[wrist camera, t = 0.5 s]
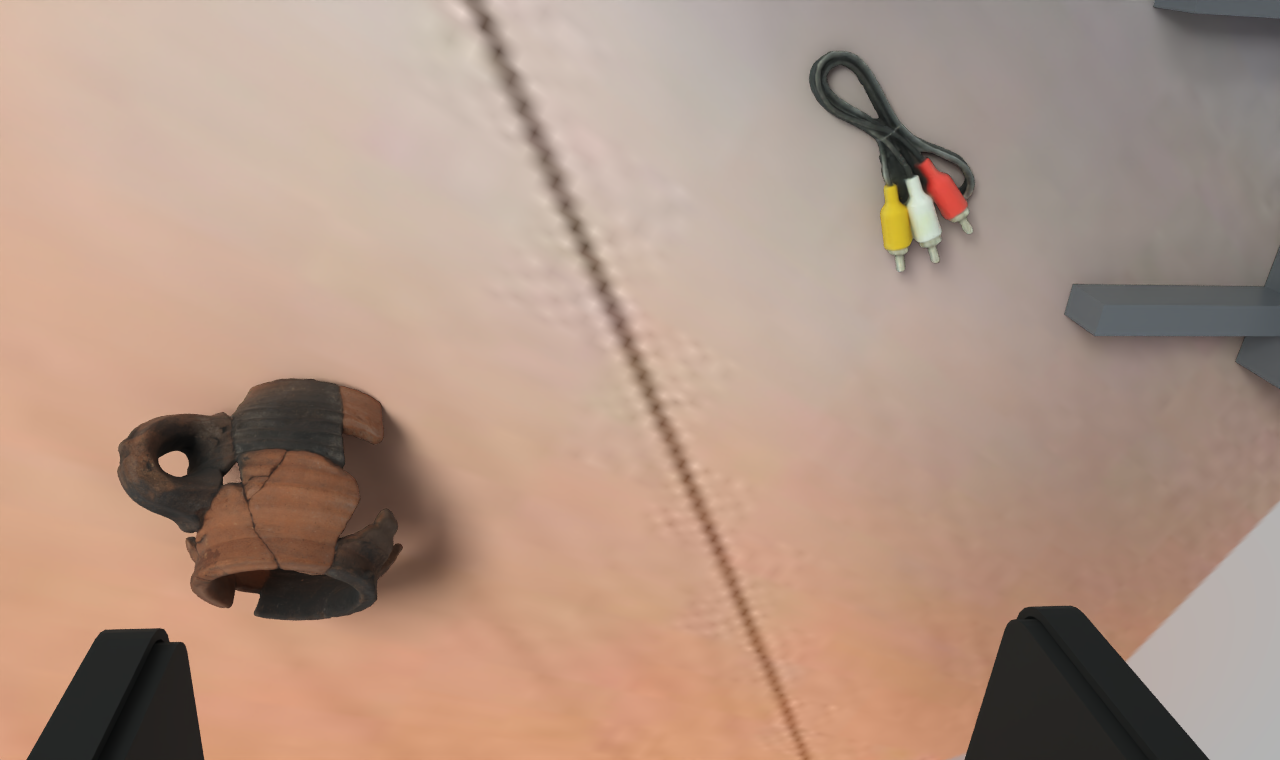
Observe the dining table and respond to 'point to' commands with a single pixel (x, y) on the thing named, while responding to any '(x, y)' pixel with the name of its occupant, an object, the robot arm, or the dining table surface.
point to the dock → (1263, 314)
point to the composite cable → (899, 165)
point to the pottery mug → (269, 498)
